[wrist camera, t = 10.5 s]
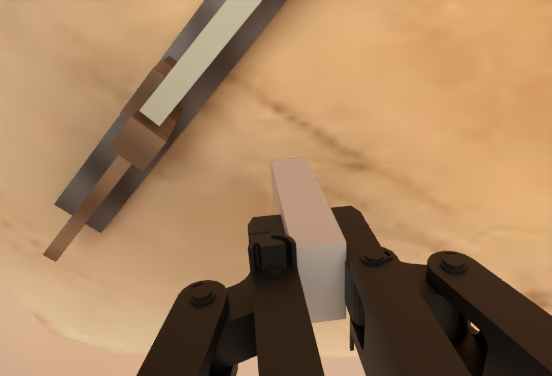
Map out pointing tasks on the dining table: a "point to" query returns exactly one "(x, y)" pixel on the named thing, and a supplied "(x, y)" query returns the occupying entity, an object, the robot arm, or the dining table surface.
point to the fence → (149, 128)
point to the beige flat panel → (197, 58)
